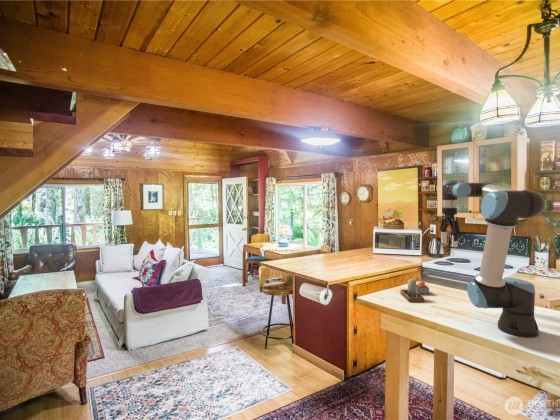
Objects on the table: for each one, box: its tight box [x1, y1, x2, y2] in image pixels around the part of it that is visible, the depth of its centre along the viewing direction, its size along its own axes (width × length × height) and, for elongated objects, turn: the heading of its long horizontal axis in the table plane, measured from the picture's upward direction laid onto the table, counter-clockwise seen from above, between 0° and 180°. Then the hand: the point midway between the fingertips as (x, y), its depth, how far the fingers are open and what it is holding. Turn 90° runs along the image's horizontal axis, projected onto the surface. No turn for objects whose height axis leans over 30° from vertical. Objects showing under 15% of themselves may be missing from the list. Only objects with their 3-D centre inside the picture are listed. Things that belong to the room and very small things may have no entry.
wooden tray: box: [400, 289, 425, 303], centre depth 197 cm, size 16×9×2 cm, turn 177°
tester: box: [416, 284, 430, 295], centre depth 206 cm, size 7×7×4 cm
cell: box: [407, 278, 417, 297], centre depth 196 cm, size 5×5×11 cm
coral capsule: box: [417, 280, 426, 288], centre depth 206 cm, size 4×4×6 cm
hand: (449, 245), depth 187 cm, fingers open, 13 cm apart
